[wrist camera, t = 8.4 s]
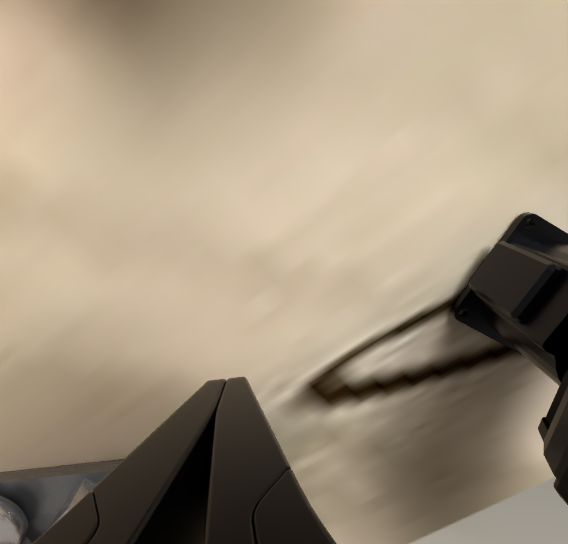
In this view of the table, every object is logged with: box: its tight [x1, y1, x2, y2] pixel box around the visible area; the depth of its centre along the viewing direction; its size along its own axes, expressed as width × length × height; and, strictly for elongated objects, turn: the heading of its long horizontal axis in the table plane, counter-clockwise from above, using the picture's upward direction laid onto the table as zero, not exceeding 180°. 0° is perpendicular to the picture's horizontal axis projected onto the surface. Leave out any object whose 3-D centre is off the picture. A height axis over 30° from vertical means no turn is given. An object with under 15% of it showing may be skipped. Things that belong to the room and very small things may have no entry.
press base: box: [0, 459, 124, 543], centre depth 24 cm, size 11×17×3 cm
